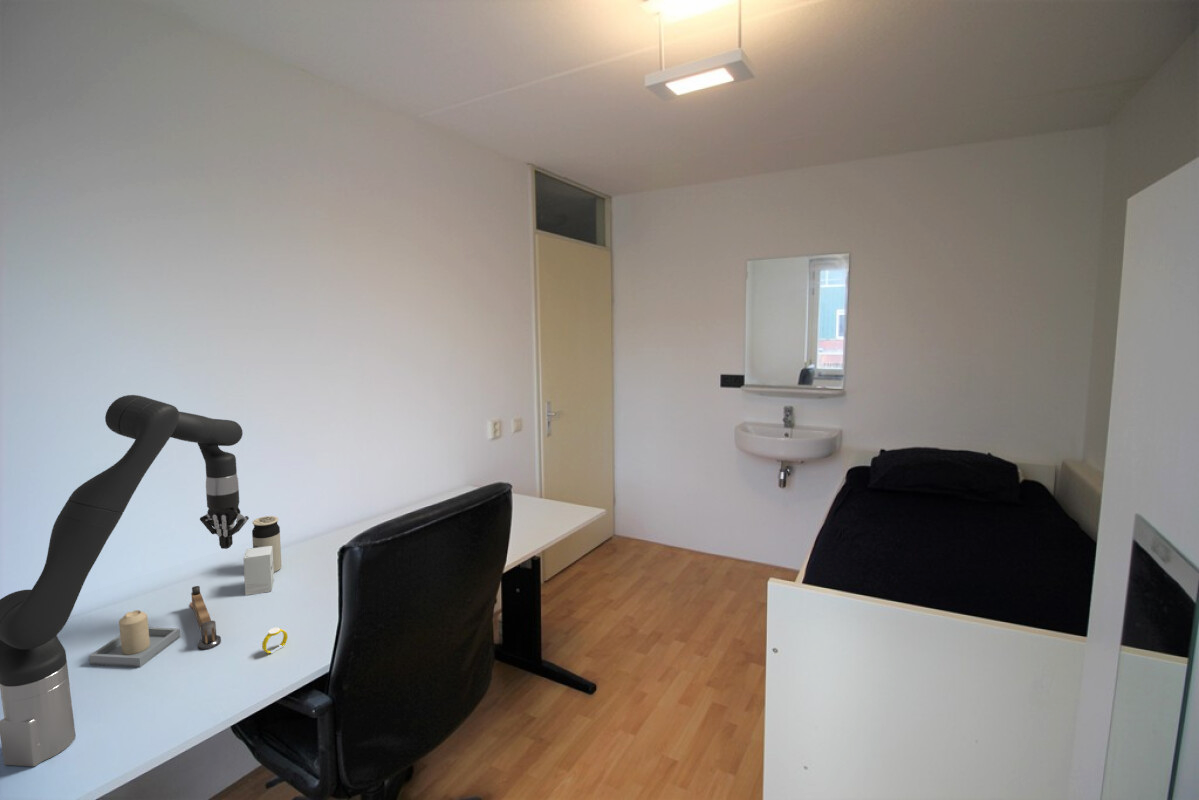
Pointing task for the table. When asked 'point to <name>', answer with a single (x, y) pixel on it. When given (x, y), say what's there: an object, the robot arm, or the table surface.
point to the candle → (134, 632)
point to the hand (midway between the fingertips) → (226, 547)
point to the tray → (115, 657)
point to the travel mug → (268, 537)
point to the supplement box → (258, 570)
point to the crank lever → (203, 617)
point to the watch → (271, 633)
